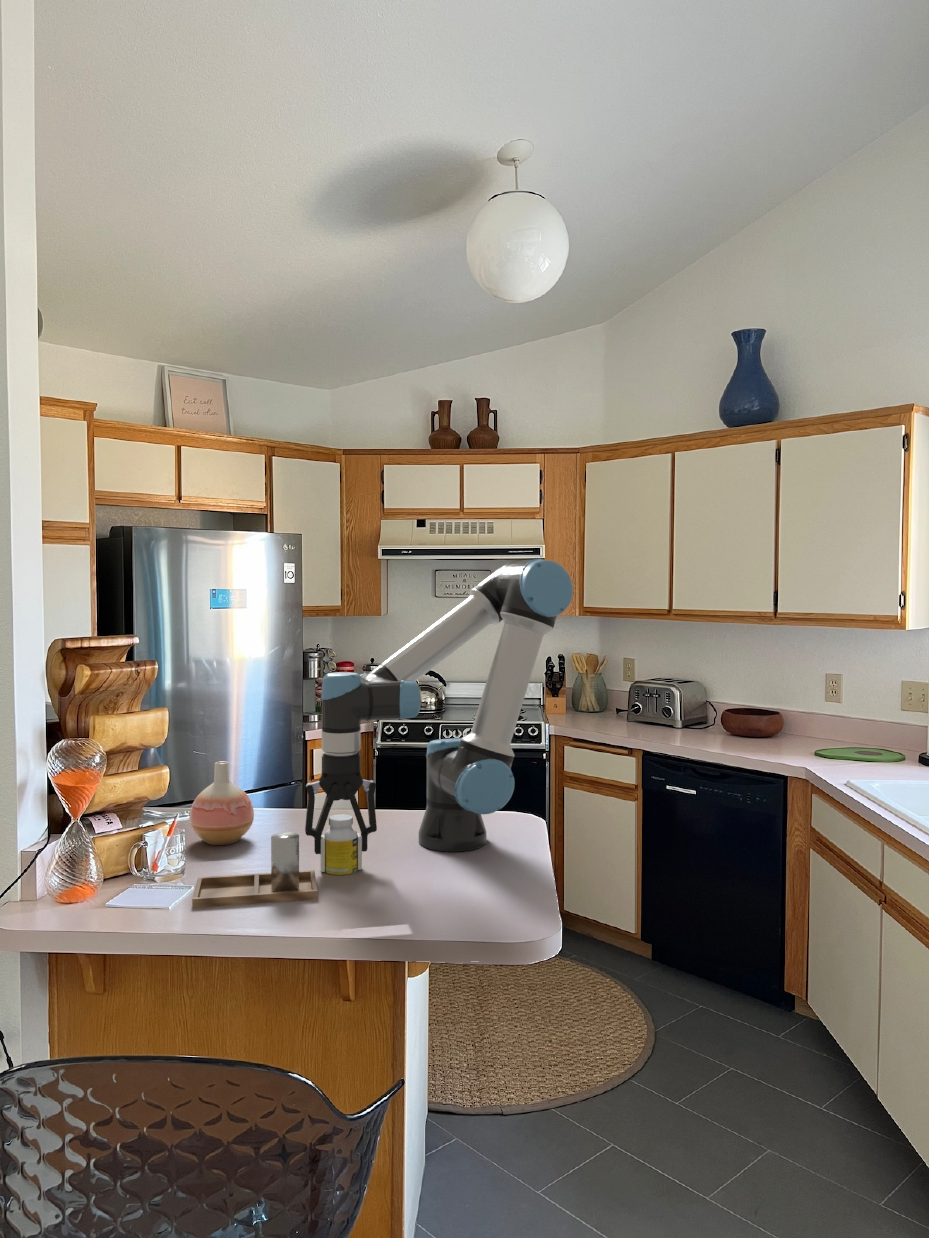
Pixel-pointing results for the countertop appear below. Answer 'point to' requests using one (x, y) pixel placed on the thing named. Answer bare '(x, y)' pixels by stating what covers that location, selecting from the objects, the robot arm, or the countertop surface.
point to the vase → (221, 810)
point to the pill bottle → (340, 846)
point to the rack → (249, 890)
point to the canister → (285, 862)
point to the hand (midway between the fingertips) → (340, 868)
